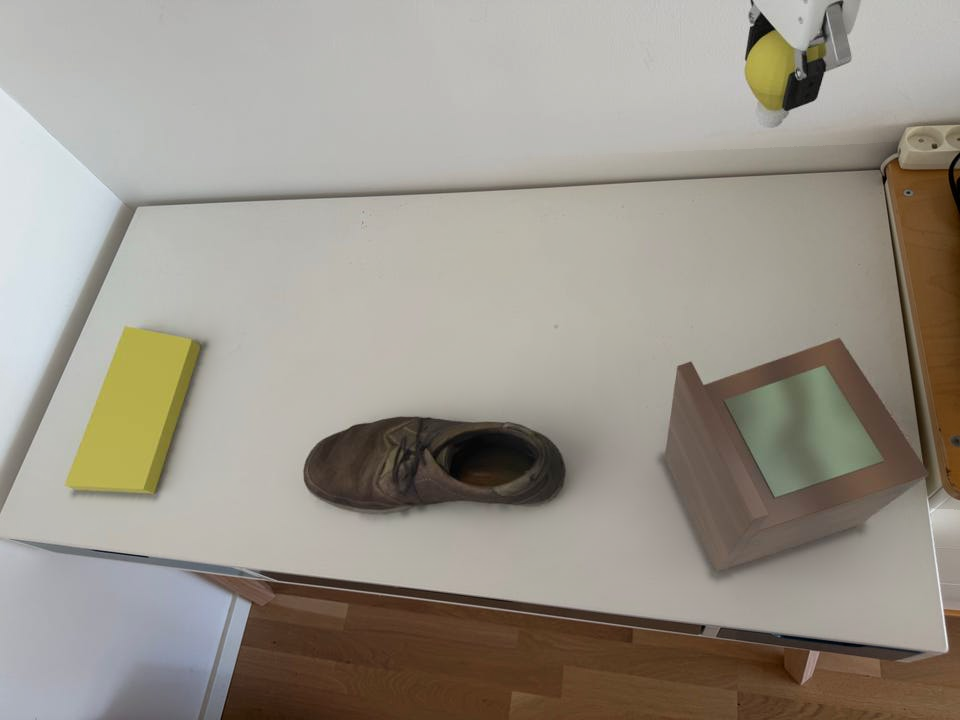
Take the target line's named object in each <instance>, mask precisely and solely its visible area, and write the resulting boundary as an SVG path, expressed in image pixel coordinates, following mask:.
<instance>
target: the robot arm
mask: <svg viewBox="0 0 960 720" xmlns="http://www.w3.org/2000/svg"><path fill="white" fill-rule="evenodd" d="M749 1H750V5H751V8H750V10H749V11H748V14H747V18H748V22H749V24H750V25H751V26H749V28H748V29H749V30H748V36H747V43H746V50H745V55H744V61H745V62H746V61H747V58H748V55H749V53H750V51H751V49H752V48H753V47H754V45H755V44H756V43H757V42H758V41H759V40H760V39H761V38H762V37H763V36H765V35H766V34H768V33H769V32H771V31H773V30H777V31H778V32H779V33H780V35H781V36H782V37H783V38H784V39H785V40H786V41H787V42H788V43H789V44H790V45H791V46H792V47H794V68H795V72H792V73H791V74H789V77H788V81H787V85H786V90H785V94H784V98H783V103H782V108H783V109H784V110H785V111H789V110H790V111H792V110H794V109H798V108H799V107H802V106H805V105H808V104H810V103H813V102H814V101H816V100H817V99H818V96H819V93H820V89H821V86H822V82H823V79H824V75H825V73H828V72H829V71H832V70H834V69H836V68H837V69H838V68H839V67H842V66H844V65H847V64H849V63H851V62H852V57H853V56H852V50H851V48H850V42H849V38H848V36H849V35H850V34H851V33H852V31H853V29H854V26H855V23H856V20H857V18H858V14H859V10H860V7H861V3H862V0H749ZM816 45H818V59H816V60H813V61H811V62H808V63H807V49H808V48H811V47H813V46H816ZM790 111H789V112H790Z"/></svg>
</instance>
